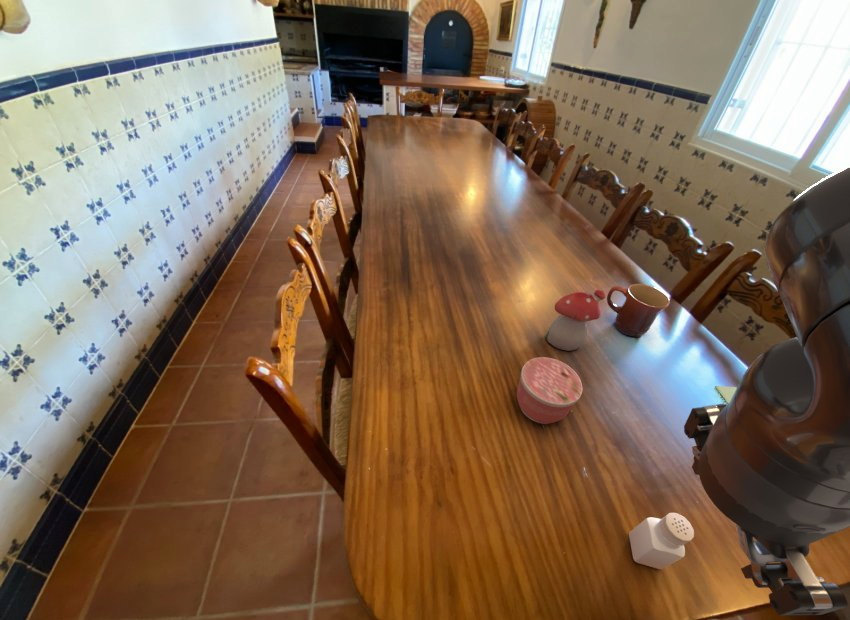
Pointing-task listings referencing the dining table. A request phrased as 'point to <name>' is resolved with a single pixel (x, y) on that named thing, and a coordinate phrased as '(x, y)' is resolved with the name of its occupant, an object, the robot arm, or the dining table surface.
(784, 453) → the robot arm
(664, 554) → the salt shaker
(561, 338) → the decorative ornament
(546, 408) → the container
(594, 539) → the dining table surface
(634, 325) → the mug
